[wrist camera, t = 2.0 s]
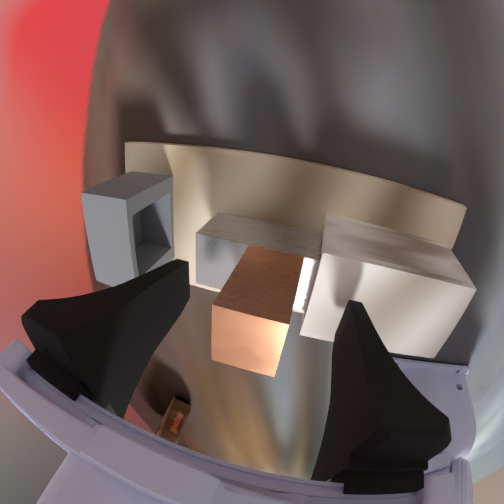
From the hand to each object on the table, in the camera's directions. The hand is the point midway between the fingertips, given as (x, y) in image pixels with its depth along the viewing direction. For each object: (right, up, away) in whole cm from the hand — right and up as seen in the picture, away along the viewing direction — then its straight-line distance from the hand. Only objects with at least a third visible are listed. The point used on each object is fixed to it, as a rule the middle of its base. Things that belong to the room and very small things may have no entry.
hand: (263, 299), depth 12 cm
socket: (-7, +5, +7) cm, 11 cm away
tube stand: (+1, +3, +5) cm, 6 cm away
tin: (-11, -21, +22) cm, 32 cm away
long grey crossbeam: (+4, +2, +3) cm, 6 cm away
